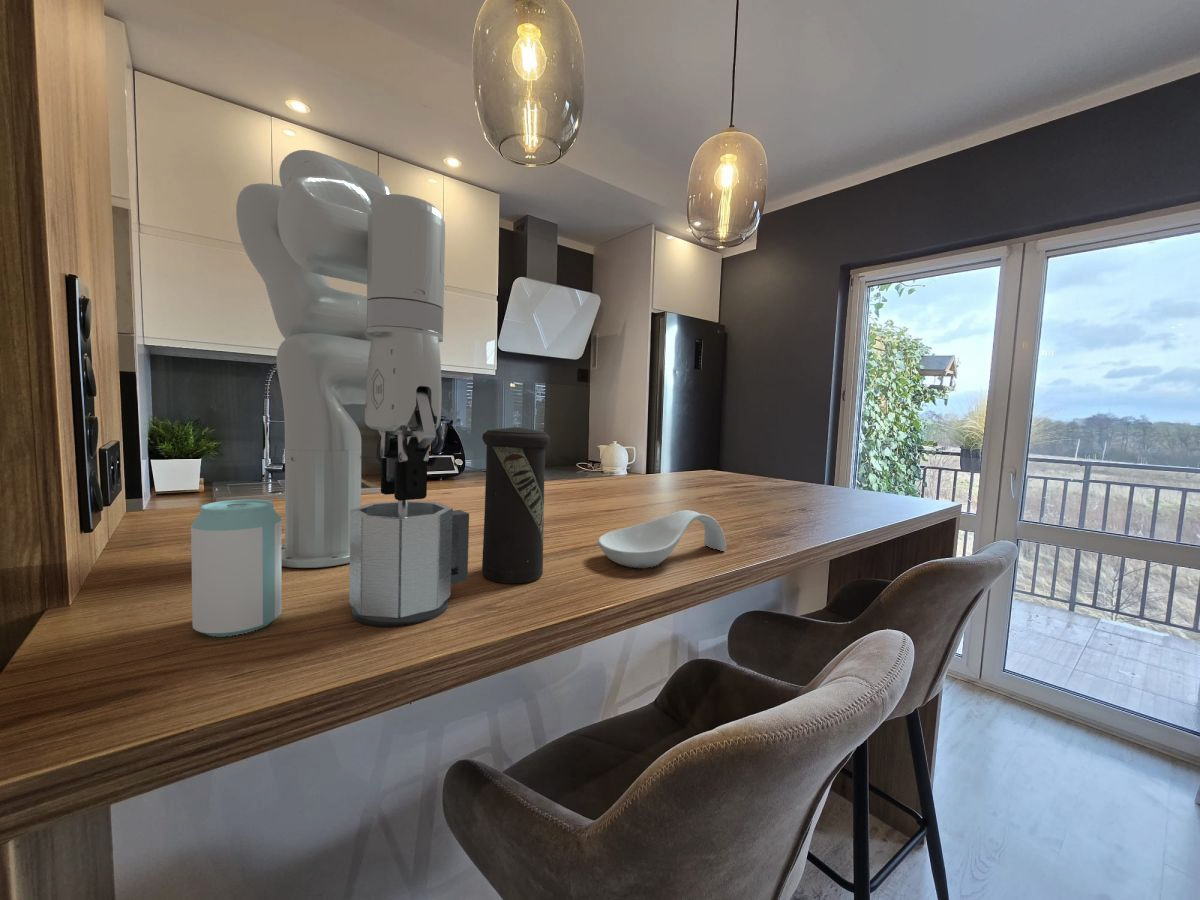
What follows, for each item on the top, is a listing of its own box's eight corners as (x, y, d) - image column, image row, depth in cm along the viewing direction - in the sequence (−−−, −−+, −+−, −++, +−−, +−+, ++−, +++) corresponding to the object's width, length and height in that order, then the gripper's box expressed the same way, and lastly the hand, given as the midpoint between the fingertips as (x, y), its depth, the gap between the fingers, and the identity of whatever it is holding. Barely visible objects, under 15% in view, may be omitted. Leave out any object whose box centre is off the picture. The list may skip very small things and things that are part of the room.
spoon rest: (629, 581, 67) (632, 529, 67) (582, 558, 77) (584, 513, 76) (742, 558, 81) (745, 515, 80) (690, 541, 90) (692, 503, 90)
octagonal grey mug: (340, 603, 55) (341, 505, 54) (444, 582, 63) (446, 497, 62) (368, 635, 47) (369, 522, 47) (482, 607, 55) (485, 510, 55)
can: (172, 634, 46) (170, 507, 45) (243, 606, 53) (242, 495, 52) (233, 645, 44) (232, 513, 44) (298, 615, 51) (298, 501, 50)
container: (511, 590, 61) (516, 429, 60) (465, 573, 66) (469, 425, 65) (558, 574, 68) (563, 429, 66) (513, 560, 73) (517, 426, 72)
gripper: (345, 327, 56) (343, 488, 57) (398, 307, 43) (395, 513, 45) (411, 336, 61) (409, 484, 62) (475, 321, 48) (471, 505, 50)
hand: (403, 494), depth 53 cm, fingers closed on plunger, 3 cm apart
